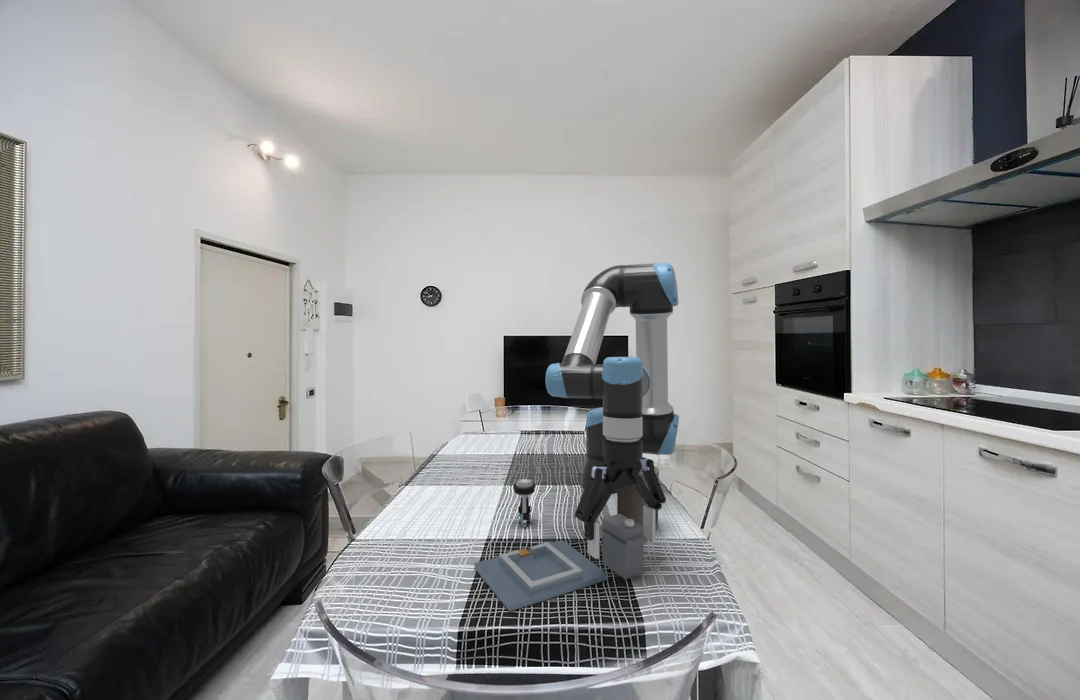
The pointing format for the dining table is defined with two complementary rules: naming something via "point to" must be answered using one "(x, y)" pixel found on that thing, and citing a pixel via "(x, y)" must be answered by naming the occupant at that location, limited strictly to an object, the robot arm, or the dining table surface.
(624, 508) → the pillar candle
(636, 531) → the servo
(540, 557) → the plate
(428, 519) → the dining table surface
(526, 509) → the push button
